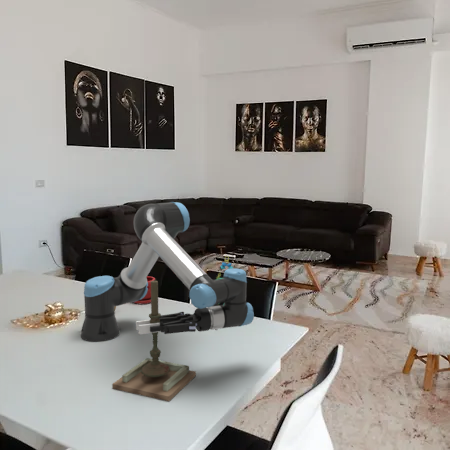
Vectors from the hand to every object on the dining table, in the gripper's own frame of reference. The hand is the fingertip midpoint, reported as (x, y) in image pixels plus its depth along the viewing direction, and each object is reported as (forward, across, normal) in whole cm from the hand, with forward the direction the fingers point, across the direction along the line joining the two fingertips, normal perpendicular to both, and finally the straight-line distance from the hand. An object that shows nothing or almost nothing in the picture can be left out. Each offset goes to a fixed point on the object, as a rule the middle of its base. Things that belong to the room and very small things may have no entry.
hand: (137, 327), depth 142 cm
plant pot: (-21, +88, -19) cm, 93 cm away
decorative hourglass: (-49, +45, -19) cm, 70 cm away
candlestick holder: (-5, 0, -15) cm, 16 cm away
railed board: (-5, 0, -19) cm, 19 cm away
